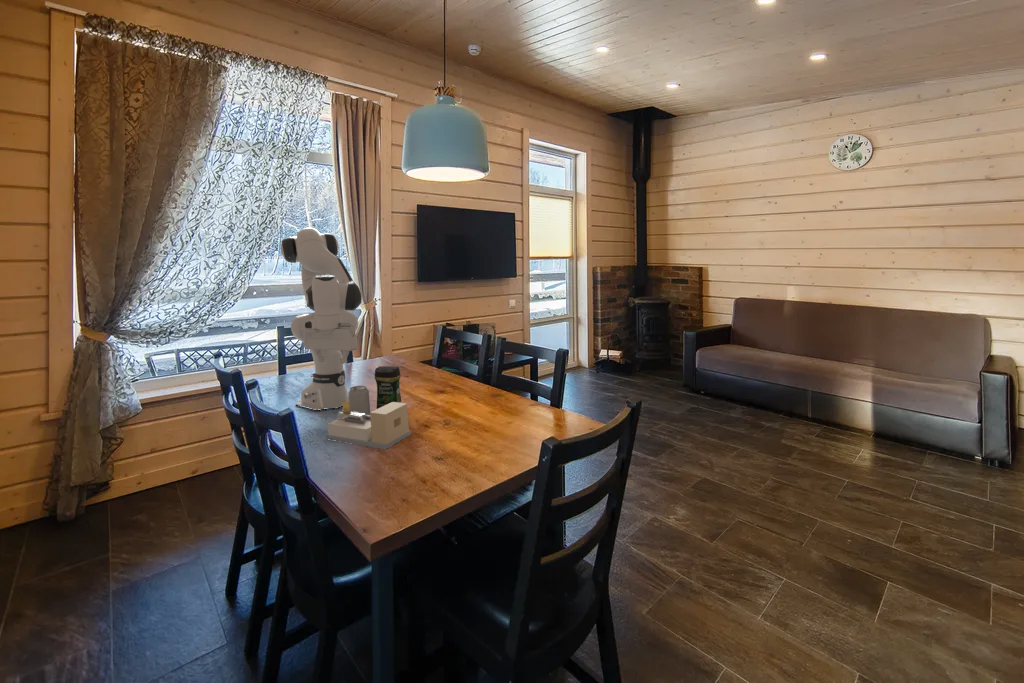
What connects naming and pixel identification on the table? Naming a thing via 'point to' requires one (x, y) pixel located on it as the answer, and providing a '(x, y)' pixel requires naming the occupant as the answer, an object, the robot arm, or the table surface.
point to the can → (359, 399)
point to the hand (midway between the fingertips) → (332, 362)
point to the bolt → (348, 414)
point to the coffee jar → (387, 385)
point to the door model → (373, 427)
